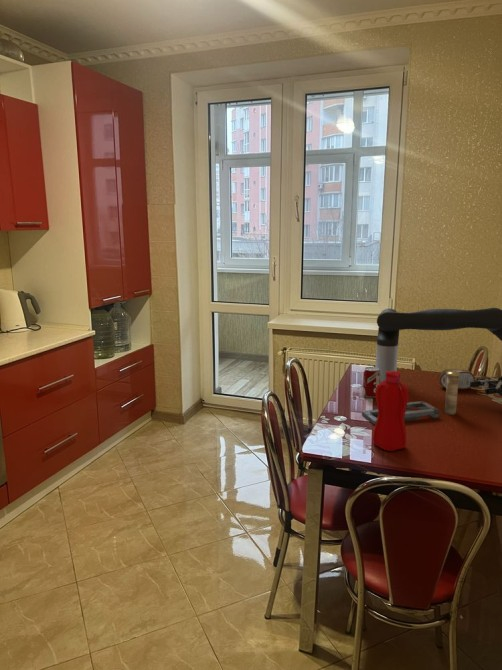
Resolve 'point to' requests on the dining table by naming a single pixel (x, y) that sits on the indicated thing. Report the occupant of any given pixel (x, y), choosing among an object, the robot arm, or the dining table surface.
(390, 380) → the water bottle
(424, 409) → the grey ladder frame
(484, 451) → the dining table surface
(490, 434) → the dining table surface
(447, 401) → the pin
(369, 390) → the soda can
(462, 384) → the tin
